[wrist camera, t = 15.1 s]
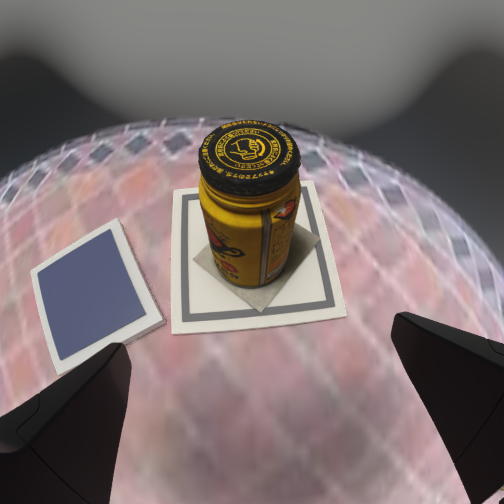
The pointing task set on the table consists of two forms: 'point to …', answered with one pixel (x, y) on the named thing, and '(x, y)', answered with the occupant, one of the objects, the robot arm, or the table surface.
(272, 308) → the marked board
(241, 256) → the condiment
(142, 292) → the ink pad
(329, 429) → the table surface
